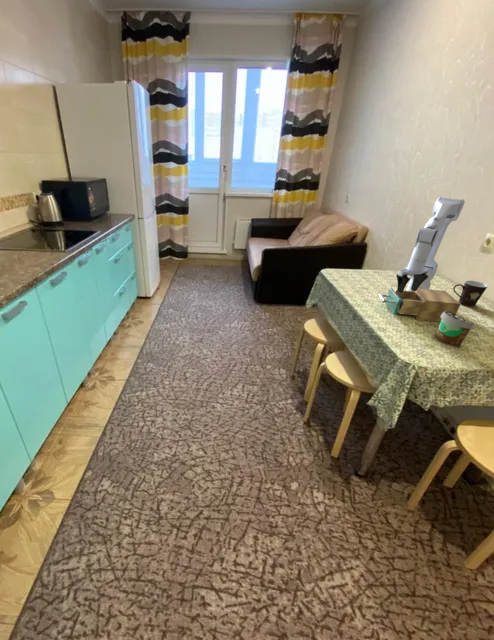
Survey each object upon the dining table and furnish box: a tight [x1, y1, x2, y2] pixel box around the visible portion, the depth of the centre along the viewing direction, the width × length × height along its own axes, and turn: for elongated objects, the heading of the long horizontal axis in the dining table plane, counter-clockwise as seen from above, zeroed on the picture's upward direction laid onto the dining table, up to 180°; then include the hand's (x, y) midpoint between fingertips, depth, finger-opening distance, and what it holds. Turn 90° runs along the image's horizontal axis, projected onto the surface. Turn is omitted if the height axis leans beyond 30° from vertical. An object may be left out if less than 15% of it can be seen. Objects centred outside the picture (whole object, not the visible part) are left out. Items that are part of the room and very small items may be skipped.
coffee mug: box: [452, 280, 489, 308], centre depth 154 cm, size 12×9×10 cm
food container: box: [435, 309, 475, 347], centre depth 121 cm, size 12×6×10 cm, turn 5°
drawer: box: [377, 287, 424, 316], centre depth 143 cm, size 17×13×7 cm
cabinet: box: [411, 288, 462, 323], centre depth 141 cm, size 14×15×9 cm
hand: (406, 291), depth 140 cm, fingers open, 7 cm apart
